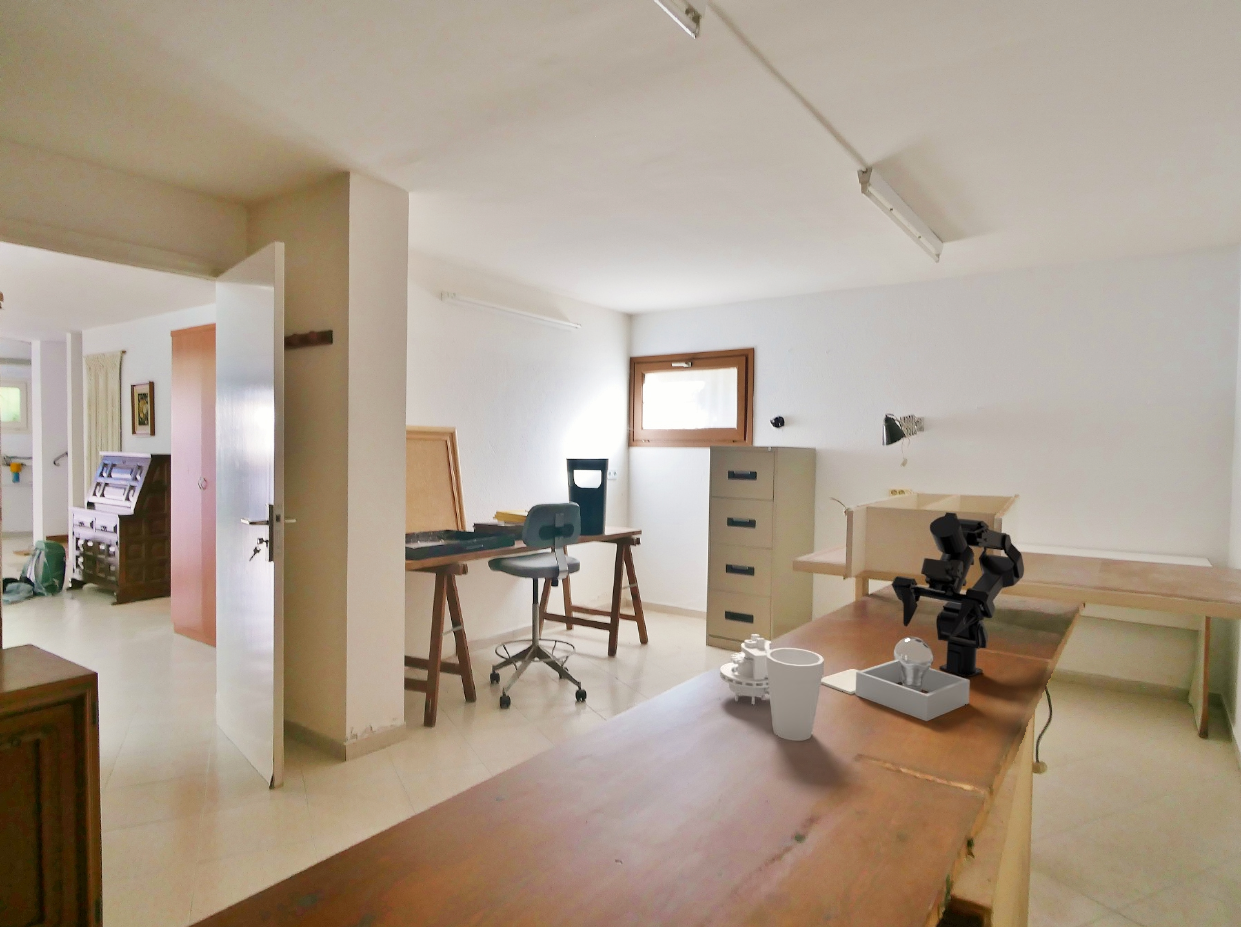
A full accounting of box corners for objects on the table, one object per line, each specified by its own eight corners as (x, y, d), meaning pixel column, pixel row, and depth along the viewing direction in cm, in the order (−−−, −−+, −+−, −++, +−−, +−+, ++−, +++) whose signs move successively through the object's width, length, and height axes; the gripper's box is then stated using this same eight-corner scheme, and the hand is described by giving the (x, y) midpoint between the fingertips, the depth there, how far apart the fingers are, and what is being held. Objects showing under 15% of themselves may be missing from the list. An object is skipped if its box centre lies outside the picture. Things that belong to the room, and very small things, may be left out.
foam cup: (822, 726, 121) (825, 652, 120) (819, 748, 112) (822, 669, 111) (767, 717, 124) (769, 645, 123) (760, 739, 115) (762, 661, 114)
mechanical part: (720, 685, 139) (722, 627, 138) (782, 691, 136) (784, 631, 136) (717, 707, 127) (719, 644, 127) (785, 714, 125) (787, 649, 125)
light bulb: (935, 708, 129) (938, 644, 129) (895, 704, 131) (898, 641, 130) (926, 694, 136) (929, 633, 136) (889, 690, 138) (891, 630, 137)
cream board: (852, 670, 149) (852, 668, 149) (886, 682, 142) (886, 679, 142) (816, 681, 142) (816, 679, 142) (850, 694, 135) (850, 691, 135)
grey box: (898, 680, 144) (899, 658, 144) (968, 703, 132) (969, 680, 132) (855, 694, 135) (856, 672, 135) (926, 721, 123) (927, 696, 123)
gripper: (897, 537, 147) (870, 597, 140) (992, 550, 133) (967, 616, 126) (912, 570, 153) (886, 628, 146) (1004, 585, 139) (981, 650, 132)
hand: (927, 630), depth 137 cm, fingers open, 9 cm apart
